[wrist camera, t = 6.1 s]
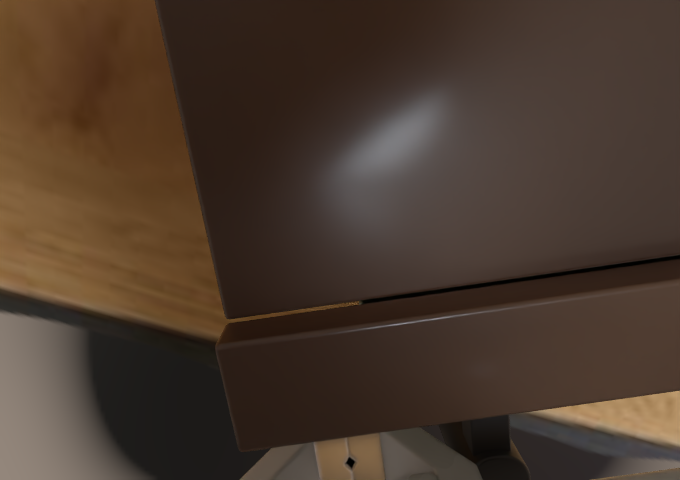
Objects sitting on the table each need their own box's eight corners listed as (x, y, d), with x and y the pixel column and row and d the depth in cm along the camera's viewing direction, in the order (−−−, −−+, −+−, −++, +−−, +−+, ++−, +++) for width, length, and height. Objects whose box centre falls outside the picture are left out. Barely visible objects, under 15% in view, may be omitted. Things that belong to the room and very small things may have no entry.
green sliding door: (355, 305, 21) (396, 555, 9) (340, 198, 20) (363, 321, 8) (561, 276, 21) (883, 487, 9) (559, 167, 19) (934, 239, 7)
